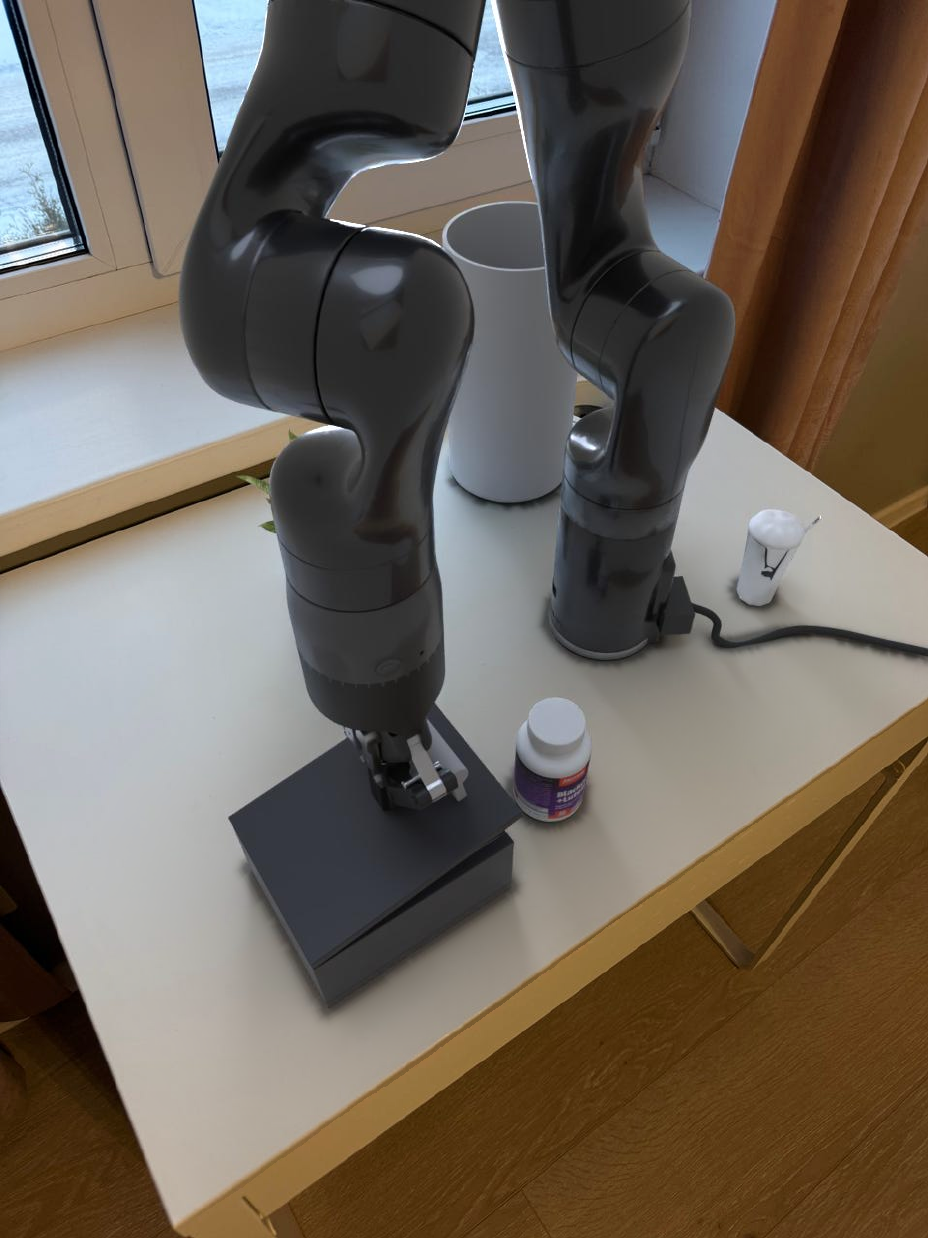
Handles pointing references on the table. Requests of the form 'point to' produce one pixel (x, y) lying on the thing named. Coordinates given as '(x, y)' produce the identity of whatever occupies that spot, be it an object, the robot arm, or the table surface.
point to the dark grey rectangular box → (409, 919)
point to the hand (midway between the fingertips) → (392, 796)
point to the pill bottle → (552, 760)
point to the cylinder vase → (508, 360)
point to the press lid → (364, 839)
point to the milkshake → (768, 554)
